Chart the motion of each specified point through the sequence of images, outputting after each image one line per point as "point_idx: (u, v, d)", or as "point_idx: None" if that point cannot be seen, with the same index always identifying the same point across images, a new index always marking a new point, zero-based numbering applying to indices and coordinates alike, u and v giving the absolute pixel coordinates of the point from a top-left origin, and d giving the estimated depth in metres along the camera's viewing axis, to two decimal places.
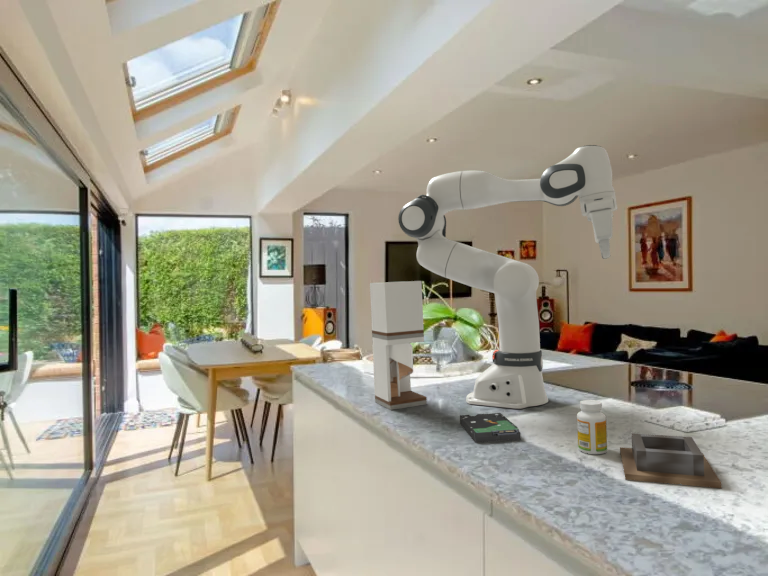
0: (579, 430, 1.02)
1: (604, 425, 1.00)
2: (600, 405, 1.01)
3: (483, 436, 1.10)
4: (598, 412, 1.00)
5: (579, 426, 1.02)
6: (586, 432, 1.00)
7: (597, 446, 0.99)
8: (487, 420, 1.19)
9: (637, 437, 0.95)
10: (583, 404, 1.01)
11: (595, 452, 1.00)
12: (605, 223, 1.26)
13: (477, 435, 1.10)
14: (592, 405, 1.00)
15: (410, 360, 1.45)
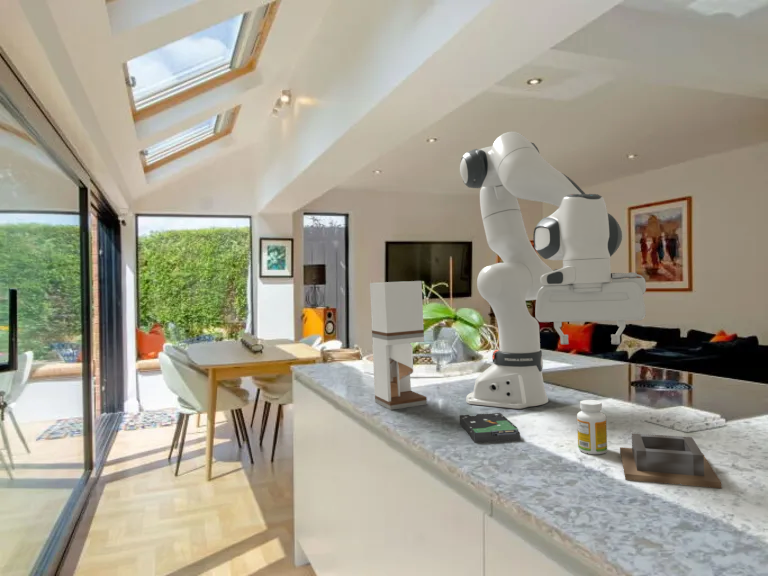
0: (579, 430, 1.02)
1: (604, 425, 1.00)
2: (600, 405, 1.01)
3: (482, 436, 1.10)
4: (598, 412, 1.00)
5: (579, 426, 1.02)
6: (586, 432, 1.00)
7: (597, 446, 0.99)
8: (487, 420, 1.19)
9: (637, 437, 0.95)
10: (583, 404, 1.01)
11: (595, 452, 1.00)
12: None
13: (476, 435, 1.10)
14: (592, 405, 1.00)
15: (410, 360, 1.45)
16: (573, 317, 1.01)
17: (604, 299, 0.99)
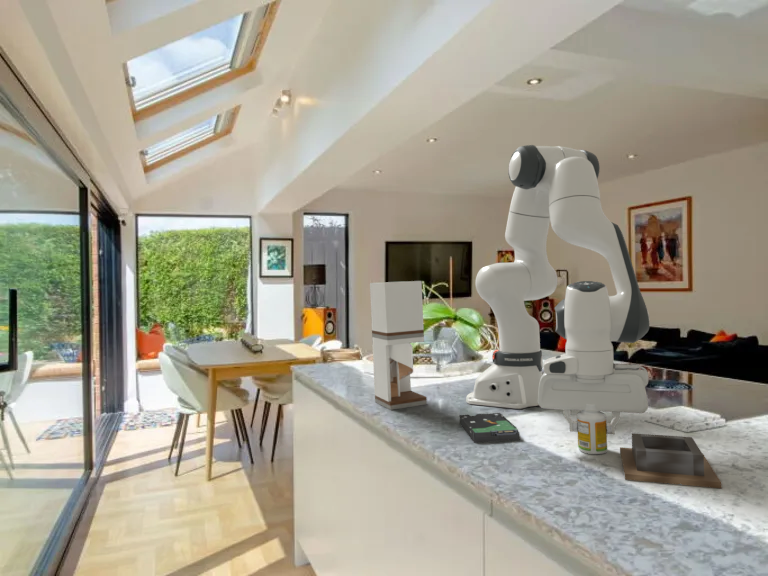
0: (579, 430, 1.02)
1: (604, 425, 1.00)
2: None
3: (481, 436, 1.10)
4: (598, 412, 1.00)
5: (579, 426, 1.02)
6: (586, 432, 1.00)
7: (597, 446, 0.99)
8: (486, 420, 1.19)
9: (637, 437, 0.95)
10: None
11: (595, 452, 1.00)
12: None
13: (476, 435, 1.10)
14: (592, 405, 1.00)
15: (410, 360, 1.45)
16: (575, 406, 1.01)
17: (606, 390, 0.99)
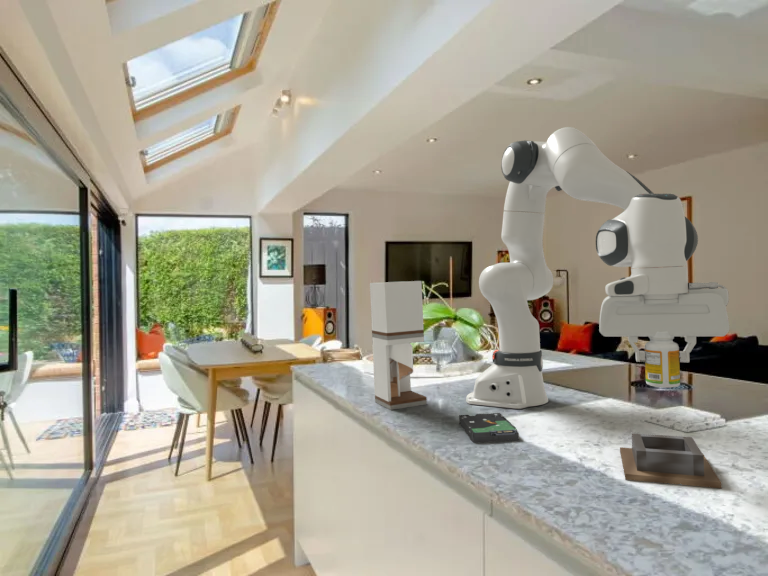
0: (648, 362, 0.90)
1: (677, 355, 0.89)
2: None
3: (480, 436, 1.10)
4: (670, 340, 0.89)
5: (648, 357, 0.90)
6: (657, 363, 0.89)
7: (670, 378, 0.88)
8: (486, 420, 1.19)
9: (637, 437, 0.95)
10: None
11: (667, 385, 0.88)
12: None
13: (475, 435, 1.10)
14: (664, 332, 0.89)
15: (410, 360, 1.45)
16: (644, 332, 0.90)
17: (680, 312, 0.88)
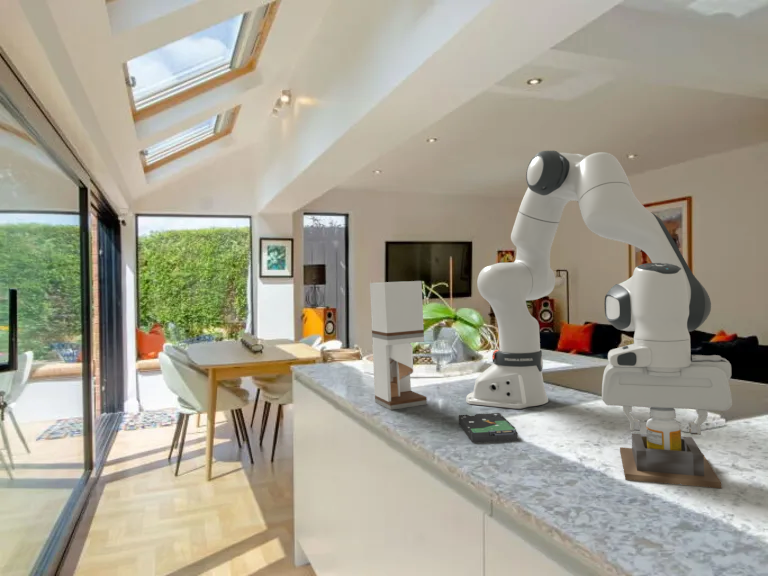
0: (650, 440, 0.91)
1: (679, 435, 0.89)
2: (674, 412, 0.90)
3: (479, 436, 1.10)
4: (672, 420, 0.90)
5: (650, 436, 0.91)
6: (658, 443, 0.89)
7: None
8: (485, 420, 1.19)
9: (637, 437, 0.95)
10: (655, 411, 0.90)
11: None
12: (602, 384, 0.94)
13: (474, 435, 1.10)
14: (666, 412, 0.89)
15: (410, 360, 1.45)
16: (647, 403, 0.90)
17: (683, 385, 0.89)
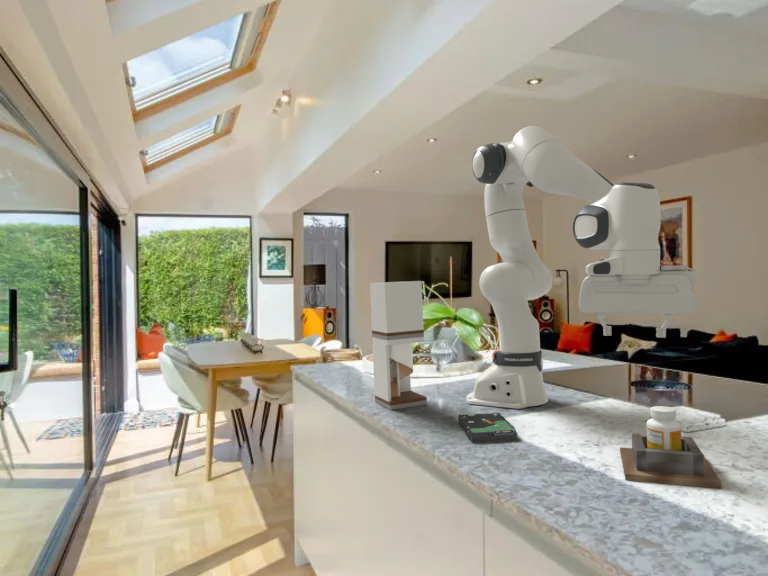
0: (650, 440, 0.91)
1: (679, 435, 0.89)
2: (674, 412, 0.90)
3: (479, 436, 1.10)
4: (672, 420, 0.90)
5: (650, 436, 0.91)
6: (659, 443, 0.89)
7: None
8: (485, 420, 1.19)
9: (637, 437, 0.95)
10: (655, 411, 0.90)
11: None
12: None
13: (473, 435, 1.10)
14: (666, 412, 0.89)
15: (410, 360, 1.45)
16: (618, 309, 0.99)
17: (651, 292, 0.97)
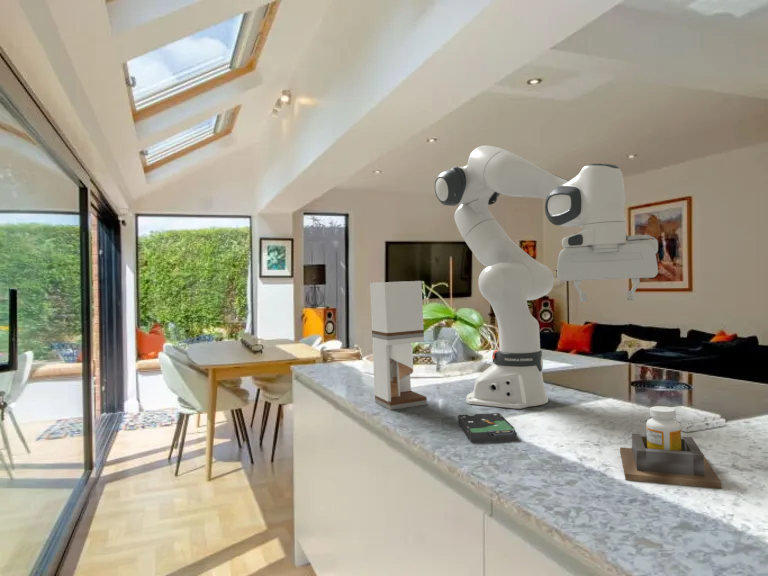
0: (650, 440, 0.91)
1: (679, 435, 0.89)
2: (674, 412, 0.90)
3: (478, 436, 1.10)
4: (672, 420, 0.90)
5: (650, 436, 0.91)
6: (658, 443, 0.89)
7: None
8: (485, 420, 1.19)
9: (637, 437, 0.95)
10: (655, 411, 0.90)
11: None
12: None
13: (473, 435, 1.10)
14: (666, 412, 0.89)
15: (410, 360, 1.45)
16: (592, 276, 1.11)
17: (620, 259, 1.10)
